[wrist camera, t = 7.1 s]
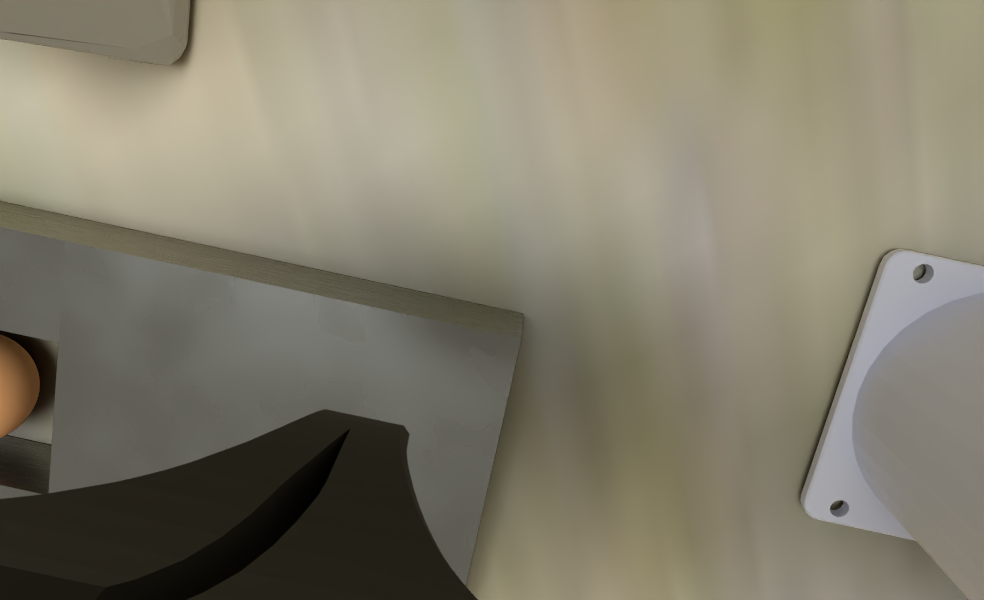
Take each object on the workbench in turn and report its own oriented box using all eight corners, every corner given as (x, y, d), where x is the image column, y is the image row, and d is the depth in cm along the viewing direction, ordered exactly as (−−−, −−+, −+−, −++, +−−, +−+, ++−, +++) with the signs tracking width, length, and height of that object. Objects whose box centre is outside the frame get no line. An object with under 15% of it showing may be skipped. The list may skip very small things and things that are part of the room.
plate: (523, 313, 21) (521, 339, 19) (455, 613, 24) (446, 669, 21) (-95, 181, 21) (-176, 189, 19) (-99, 491, 24) (-171, 534, 21)
